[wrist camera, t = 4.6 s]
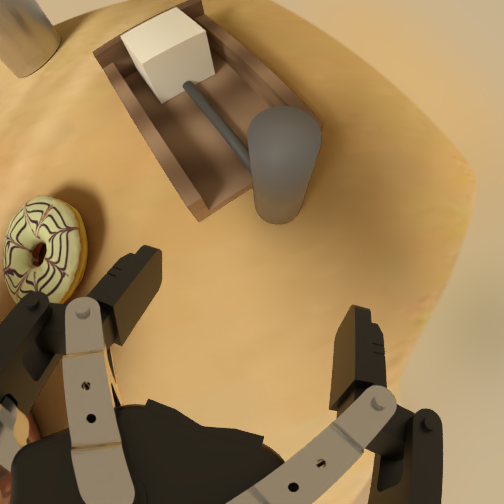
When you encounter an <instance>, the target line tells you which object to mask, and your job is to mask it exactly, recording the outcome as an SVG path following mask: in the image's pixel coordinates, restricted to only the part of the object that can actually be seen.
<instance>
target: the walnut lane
mask: <svg viewBox="0 0 504 504" xmlns="http://www.w3.org/2000/svg"><path fill="white" fill-rule="evenodd" d="M175 7H177V8H178V9H179V10H181V11H182V12H183V13H185V14H186V15H187V16H188V17H190V18H191V19H192V20H193V21H195V22H196V23H197V24H198V25H199V26H201V27H202V28H203V29H204V30H205V31H206V35H207V39H208V44H209V48H210V53H211V57H212V62H213V67H214V71H215V75H213V76H211V77H209V78H207V79H205V80H203V81H201V82H199V83H198V84H196V85H195V86H196V87H197V88H198V90H199V91H200V92H201V93H202V94H203V95H204V97H205V98H206V99H207V100H208V101H209V103H210V104H211V105H212V106H213V107H214V108H215V110H216V111H217V112H218V113H219V114H220V116H221V117H222V118H223V119H224V120H225V122H226V123H227V124H228V125H229V126H230V128H231V129H232V130H233V131H234V133H235V134H236V135H237V136H238V138H239V139H240V140H241V141H242V142H243V144H244V145H245V146H246V147H247V149H248V150H249V147H248V138H247V132H248V128H249V125H250V123H251V121H252V120H253V118H254V117H255V116H256V115H258V114H259V113H260V112H262V111H263V110H266V109H268V108H271V107H275V106H290V107H295V108H298V109H300V110H302V111H304V112H306V113H307V114H309V115H310V116H311V117H312V118H313V119H314V120H315V121H316V123H317V124H318V126H319V128H320V131H322V128H323V123H322V121H321V120H320V119H319V118H318V117H317V116H316V115H315V114H314V113H313V112H312V111H311V110H310V109H309V108H308V107H307V105H306V104H305V103H304V102H303V101H302V100H301V99H300V98H299V97H298V96H297V95H296V94H295V93H294V92H293V91H292V90H291V89H290V88H289V87H288V86H287V85H286V84H285V83H284V82H283V81H282V80H281V79H280V78H278V77H277V76H276V75H275V74H274V73H273V72H272V71H271V70H270V69H269V68H268V67H267V66H266V65H265V64H263V63H262V62H261V61H260V60H259V59H258V58H257V57H256V56H255V55H253V54H252V53H251V52H250V51H249V50H248V49H247V48H245V47H244V46H243V45H242V44H241V43H240V42H238V41H237V40H236V39H235V38H234V37H232V36H231V35H230V34H229V33H228V32H226V31H225V30H224V29H223V28H221V27H220V26H219V25H218V24H216V23H215V22H214V21H213V20H211V19H210V18H209V17H207V16H206V15H205V14H204V10H203V6H202V1H201V0H188V1H186V2H183V3H181V4H179V5H176V6H174V7H172V8H170V9H168V10H171V9H173V8H175ZM168 10H166V11H168ZM166 11H164V12H166ZM164 12H161V13H159V14H157V15H155V16H153V17H151V18H149V19H148V20H150V19H152V18H154V17H156V16H158V15H160V14H162V13H164ZM148 20H146V21H148ZM146 21H144V22H146ZM144 22H142V23H144ZM142 23H140V24H138V25H136V26H134V27H133V28H135V27H137V26H139V25H141V24H142ZM133 28H131V29H129V30H127V31H125V32H124V33H126V32H128V31H130V30H132V29H133ZM124 33H122V34H120V35H119V36H117V37H115V38H114V39H112V40H110V41H109V42H107V43H106V44H104V45H102V46H101V47H99V48H98V49H96V50H95V51H93V54H94V56H95V58H96V59H97V61H98V62H99V64H100V65H101V67H102V68H103V70H104V72H105V74H106V75H107V77H108V79H109V80H110V82H111V84H112V86H113V87H114V89H115V91H116V92H117V94H118V96H119V97H120V99H121V101H122V103H123V104H124V106H125V108H126V109H127V111H128V113H129V114H130V116H131V118H132V119H133V121H134V123H135V124H136V126H137V128H138V129H139V131H140V133H141V134H142V136H143V137H144V139H145V141H146V142H147V144H148V146H149V147H150V149H151V151H152V152H153V154H154V155H155V157H156V159H157V160H158V162H159V163H160V165H161V167H162V168H163V170H164V172H165V173H166V175H167V176H168V178H169V180H170V181H171V183H172V184H173V186H174V187H175V189H176V191H177V192H178V194H179V195H180V197H181V199H182V200H183V202H184V203H185V205H186V206H187V208H188V209H189V210H190V212H191V213H192V214H193V216H194V217H195V218H196V220H197V221H198V222H200V221H202V220H203V219H205V218H206V217H208V216H209V215H211V214H212V213H214V212H215V211H217V210H218V209H220V208H221V207H223V206H224V205H226V204H228V203H229V202H231V201H232V200H234V199H235V198H237V197H238V196H240V195H241V194H243V193H245V192H246V191H248V190H249V189H251V188H252V187H253V183H252V174H251V173H250V172H249V170H248V169H247V168H246V166H245V165H244V164H243V163H242V161H241V160H240V159H239V157H238V156H237V155H236V153H235V152H234V151H233V150H232V148H231V147H230V146H229V144H228V143H227V142H226V141H225V139H224V138H223V137H222V135H221V134H220V133H219V132H218V130H217V129H216V128H215V127H214V125H213V124H212V123H211V122H210V120H209V119H208V118H207V117H206V115H205V114H204V113H203V112H202V110H201V109H200V108H199V107H198V105H197V104H196V103H195V102H194V101H193V99H192V98H191V97H190V96H189V94H188V93H187V92H186V91H183V92H181V93H180V94H178V95H176V96H175V97H173V98H171V99H170V100H168V101H166V102H165V103H163V104H161V103H160V101H159V100H158V99H157V97H156V96H155V94H154V93H153V92H152V90H151V89H150V87H149V86H148V85H147V83H146V82H145V81H144V79H143V78H142V76H141V75H140V74H139V72H138V70H137V68H136V66H135V64H134V62H133V60H132V58H131V56H130V54H129V52H128V50H127V49H126V47H125V45H124V43H123V41H122V39H121V37H120V36H121V35H123V34H124Z"/></svg>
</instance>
